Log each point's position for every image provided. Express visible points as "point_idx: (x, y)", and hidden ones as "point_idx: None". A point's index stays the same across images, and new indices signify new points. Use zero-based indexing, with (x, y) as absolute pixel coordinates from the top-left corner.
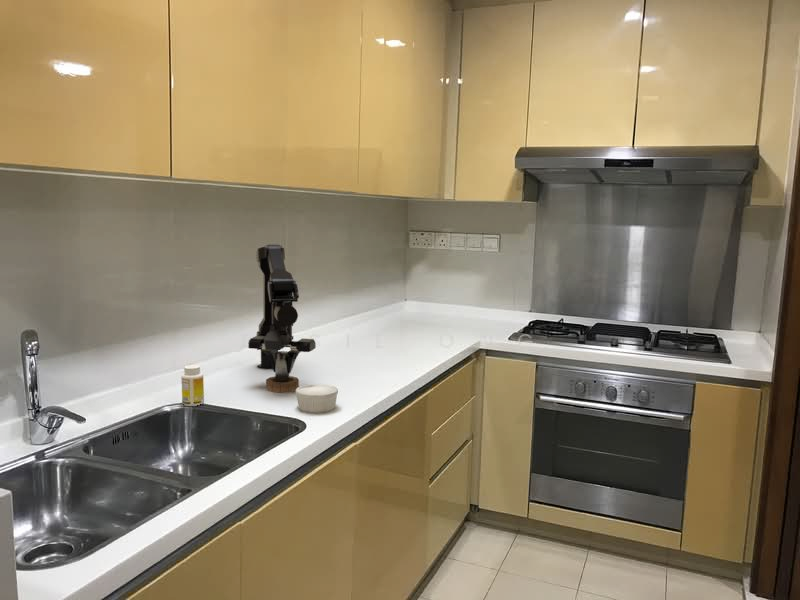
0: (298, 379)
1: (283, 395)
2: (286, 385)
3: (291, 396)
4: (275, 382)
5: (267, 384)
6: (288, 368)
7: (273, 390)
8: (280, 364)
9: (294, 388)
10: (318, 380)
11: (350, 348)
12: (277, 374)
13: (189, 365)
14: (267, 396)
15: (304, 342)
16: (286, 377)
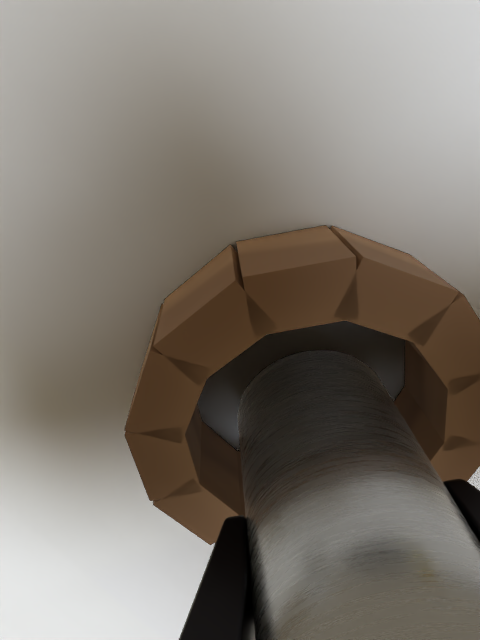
0: (158, 506)
1: (131, 149)
2: (177, 315)
3: (17, 153)
4: (337, 307)
5: (437, 277)
6: (231, 582)
7: (319, 231)
8: (375, 606)
9: (140, 371)
10: (155, 620)
11: None
12: (373, 431)
13: None
14: (289, 4)
15: None
16: (247, 448)
